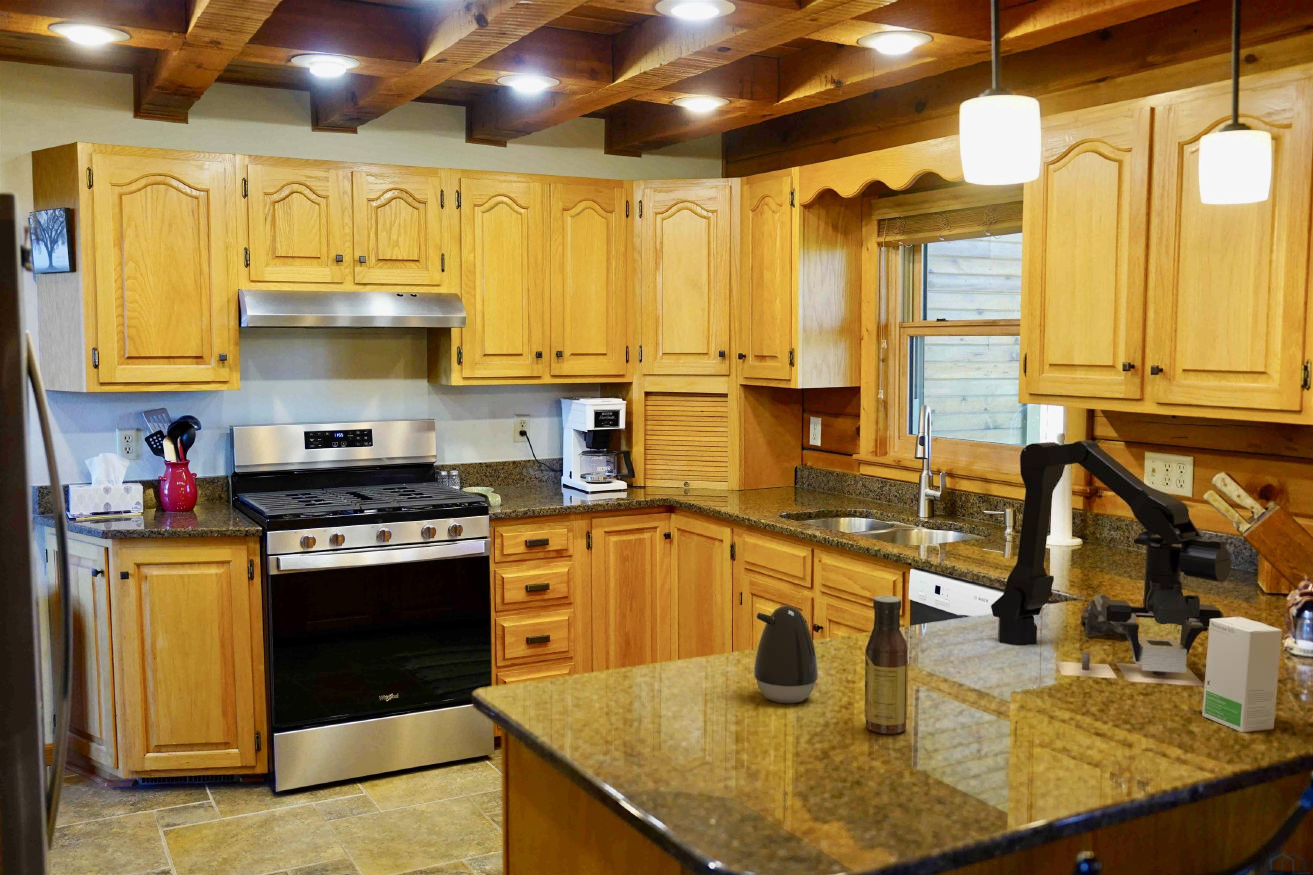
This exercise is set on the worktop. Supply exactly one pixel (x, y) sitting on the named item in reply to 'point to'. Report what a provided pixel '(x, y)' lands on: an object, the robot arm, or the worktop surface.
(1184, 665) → the collar
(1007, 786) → the worktop surface
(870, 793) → the worktop surface
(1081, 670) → the stand
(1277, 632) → the skincare box
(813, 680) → the pump dispenser
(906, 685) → the sauce bottle
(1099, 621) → the carved stone fragment
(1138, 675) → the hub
